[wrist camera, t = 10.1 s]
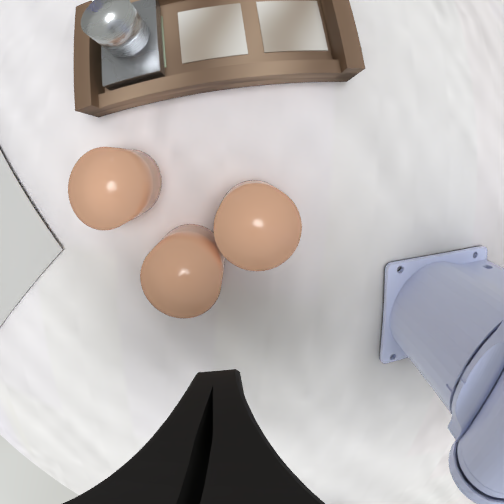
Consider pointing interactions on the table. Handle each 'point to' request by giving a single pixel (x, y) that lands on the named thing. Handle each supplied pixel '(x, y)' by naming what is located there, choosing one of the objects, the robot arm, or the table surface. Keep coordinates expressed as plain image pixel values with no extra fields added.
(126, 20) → the slider
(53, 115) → the table surface
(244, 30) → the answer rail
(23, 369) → the table surface
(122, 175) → the peach domed cylinder
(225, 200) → the peach domed capsule
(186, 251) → the peach rounded cylinder
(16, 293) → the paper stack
